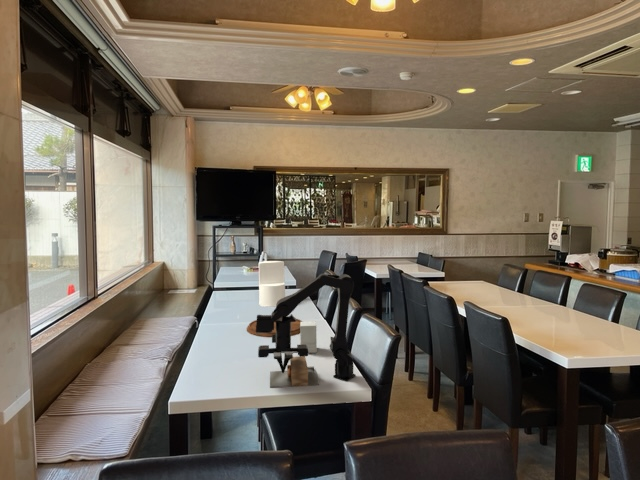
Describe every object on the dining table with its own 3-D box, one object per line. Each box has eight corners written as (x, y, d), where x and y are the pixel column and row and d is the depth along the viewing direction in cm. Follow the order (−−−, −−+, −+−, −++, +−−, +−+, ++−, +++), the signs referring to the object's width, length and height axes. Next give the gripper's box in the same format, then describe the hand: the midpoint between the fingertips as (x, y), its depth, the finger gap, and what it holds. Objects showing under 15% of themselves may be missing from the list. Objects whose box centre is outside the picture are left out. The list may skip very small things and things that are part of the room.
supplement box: (316, 347, 196) (316, 321, 195) (316, 353, 189) (316, 325, 188) (300, 347, 196) (300, 321, 195) (300, 353, 188) (300, 325, 187)
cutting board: (292, 341, 207) (292, 335, 207) (235, 334, 217) (235, 329, 217) (314, 323, 237) (314, 319, 237) (263, 318, 247) (263, 314, 247)
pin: (313, 373, 164) (313, 361, 164) (314, 378, 160) (314, 366, 159) (287, 374, 163) (287, 363, 163) (287, 379, 159) (287, 367, 158)
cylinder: (256, 302, 286) (255, 261, 284) (280, 299, 293) (279, 260, 291) (263, 308, 271) (263, 265, 268) (289, 305, 278) (288, 263, 275)
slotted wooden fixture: (315, 370, 169) (314, 355, 169) (318, 385, 155) (318, 369, 155) (270, 372, 167) (269, 357, 167) (269, 387, 153) (269, 371, 153)
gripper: (306, 326, 168) (305, 363, 169) (259, 327, 166) (259, 365, 167) (308, 334, 157) (308, 375, 158) (258, 335, 155) (258, 376, 156)
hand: (283, 372), depth 160 cm, fingers closed
